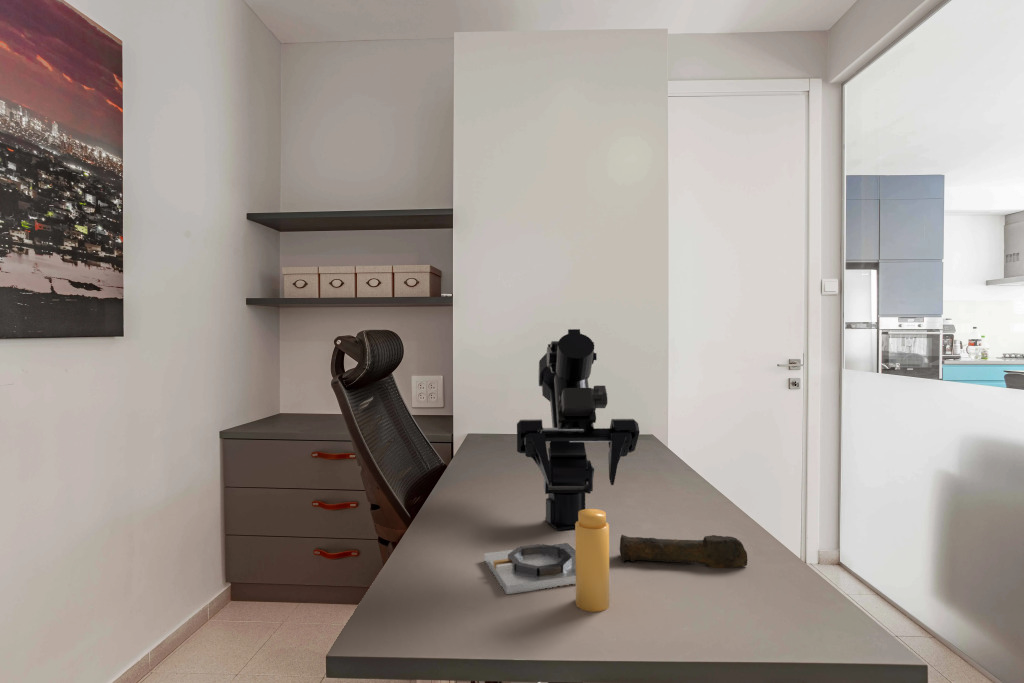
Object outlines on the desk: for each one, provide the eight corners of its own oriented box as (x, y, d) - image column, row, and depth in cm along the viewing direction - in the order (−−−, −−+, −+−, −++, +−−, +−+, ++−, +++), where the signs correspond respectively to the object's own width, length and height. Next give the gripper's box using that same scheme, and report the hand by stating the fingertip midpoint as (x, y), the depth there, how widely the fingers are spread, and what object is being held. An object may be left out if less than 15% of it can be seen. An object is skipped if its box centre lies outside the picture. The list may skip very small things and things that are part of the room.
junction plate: (567, 550, 93) (567, 536, 93) (599, 580, 82) (599, 565, 82) (484, 561, 89) (484, 547, 89) (506, 594, 78) (506, 578, 78)
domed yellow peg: (600, 593, 78) (599, 506, 77) (615, 608, 73) (615, 516, 73) (570, 598, 76) (570, 509, 76) (584, 614, 72) (583, 520, 72)
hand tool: (619, 565, 88) (619, 535, 88) (620, 555, 92) (620, 526, 92) (750, 576, 84) (750, 545, 84) (745, 565, 88) (745, 535, 87)
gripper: (516, 368, 88) (517, 453, 77) (636, 367, 88) (654, 453, 77) (516, 411, 96) (517, 495, 85) (626, 410, 96) (641, 494, 85)
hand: (581, 484), depth 83 cm, fingers open, 9 cm apart
